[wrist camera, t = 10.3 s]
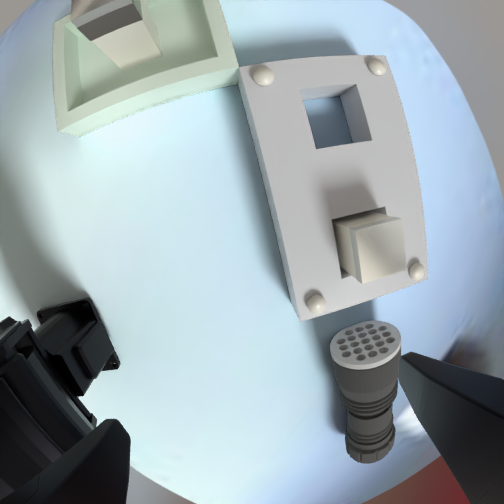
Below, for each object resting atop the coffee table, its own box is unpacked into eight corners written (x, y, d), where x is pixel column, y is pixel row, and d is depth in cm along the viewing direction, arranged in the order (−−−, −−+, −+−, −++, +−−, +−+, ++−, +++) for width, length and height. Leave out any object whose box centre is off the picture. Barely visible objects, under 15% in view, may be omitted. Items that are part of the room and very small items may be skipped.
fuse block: (291, 303, 21) (301, 324, 17) (237, 83, 17) (239, 64, 14) (407, 267, 21) (431, 280, 17) (367, 69, 17) (388, 53, 14)
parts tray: (79, 137, 17) (57, 131, 14) (70, 37, 14) (54, 22, 11) (237, 83, 17) (239, 66, 14) (209, -13, 15) (207, -36, 12)
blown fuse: (122, 71, 15) (69, 22, 8) (118, 40, 15) (72, -14, 7) (163, 57, 15) (128, -5, 8) (157, 26, 15) (126, -38, 7)
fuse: (330, 259, 20) (362, 284, 15) (323, 218, 19) (355, 230, 14) (367, 249, 20) (406, 269, 15) (361, 209, 19) (402, 218, 14)
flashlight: (384, 423, 25) (402, 455, 20) (340, 440, 25) (354, 476, 20) (380, 313, 22) (414, 344, 16) (321, 335, 22) (343, 374, 16)
